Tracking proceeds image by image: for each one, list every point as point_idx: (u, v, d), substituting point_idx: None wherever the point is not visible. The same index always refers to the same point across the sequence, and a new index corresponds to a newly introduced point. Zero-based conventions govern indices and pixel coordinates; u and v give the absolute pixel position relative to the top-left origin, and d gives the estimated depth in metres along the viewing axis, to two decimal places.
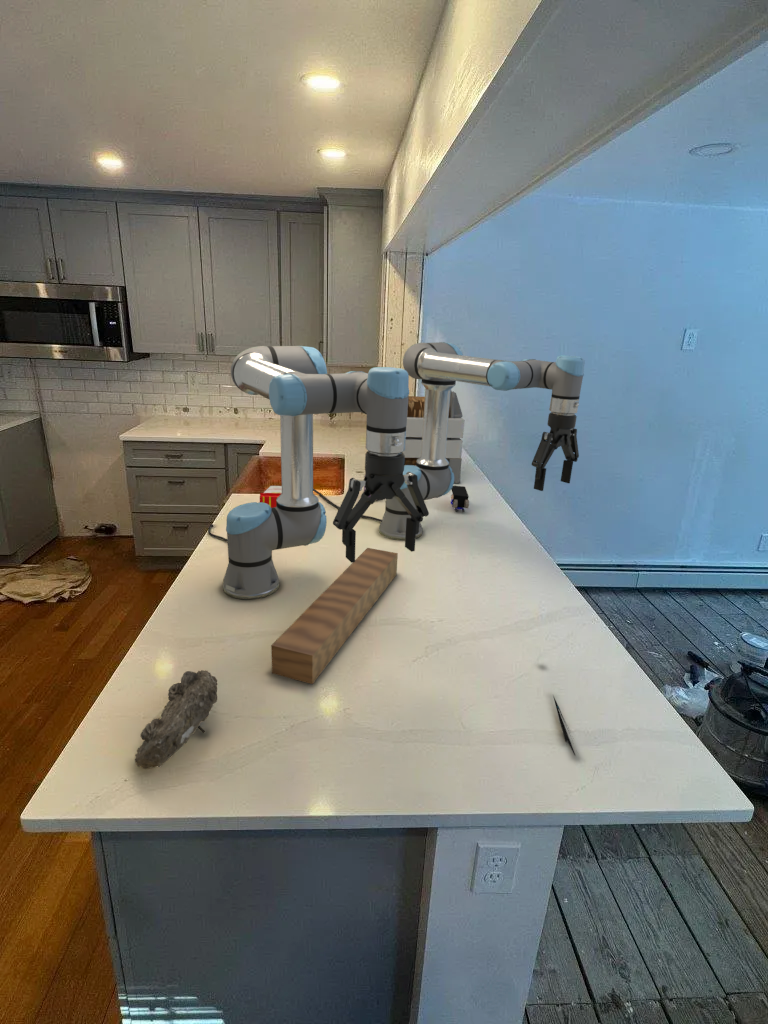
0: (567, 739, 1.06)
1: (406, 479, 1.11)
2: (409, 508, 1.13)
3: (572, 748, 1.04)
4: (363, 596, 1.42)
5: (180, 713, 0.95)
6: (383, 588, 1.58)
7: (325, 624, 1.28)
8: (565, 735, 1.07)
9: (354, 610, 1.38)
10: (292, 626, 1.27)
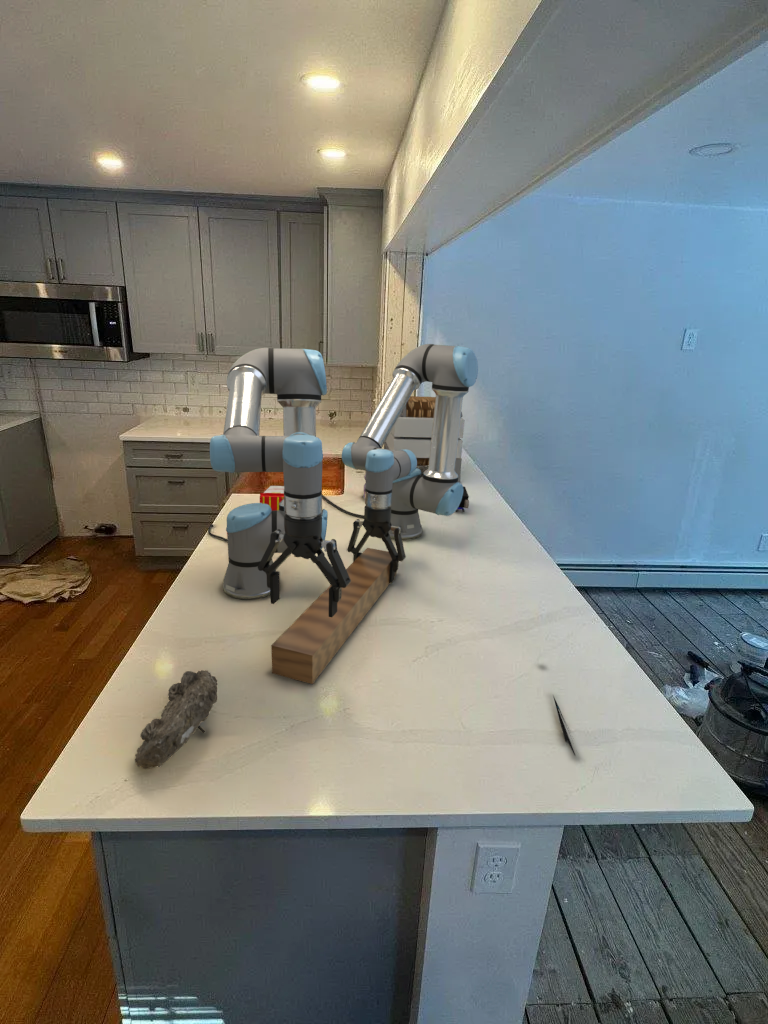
0: (567, 739, 1.06)
1: (323, 545, 1.13)
2: (324, 574, 1.14)
3: (572, 748, 1.04)
4: (363, 596, 1.42)
5: (180, 713, 0.95)
6: (383, 588, 1.58)
7: (325, 624, 1.28)
8: (565, 735, 1.07)
9: (354, 610, 1.38)
10: (292, 626, 1.27)
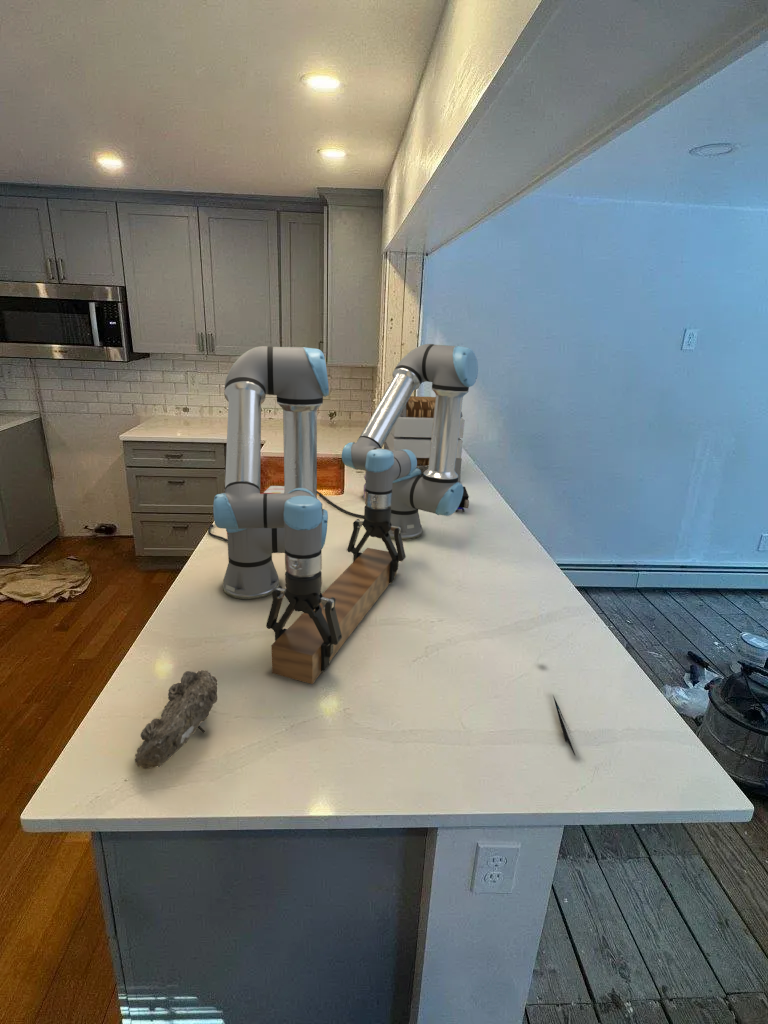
0: (567, 739, 1.06)
1: (323, 602, 1.18)
2: (319, 630, 1.19)
3: (572, 748, 1.04)
4: (363, 596, 1.42)
5: (180, 713, 0.95)
6: (383, 588, 1.58)
7: None
8: (565, 735, 1.07)
9: (354, 610, 1.38)
10: (292, 626, 1.27)
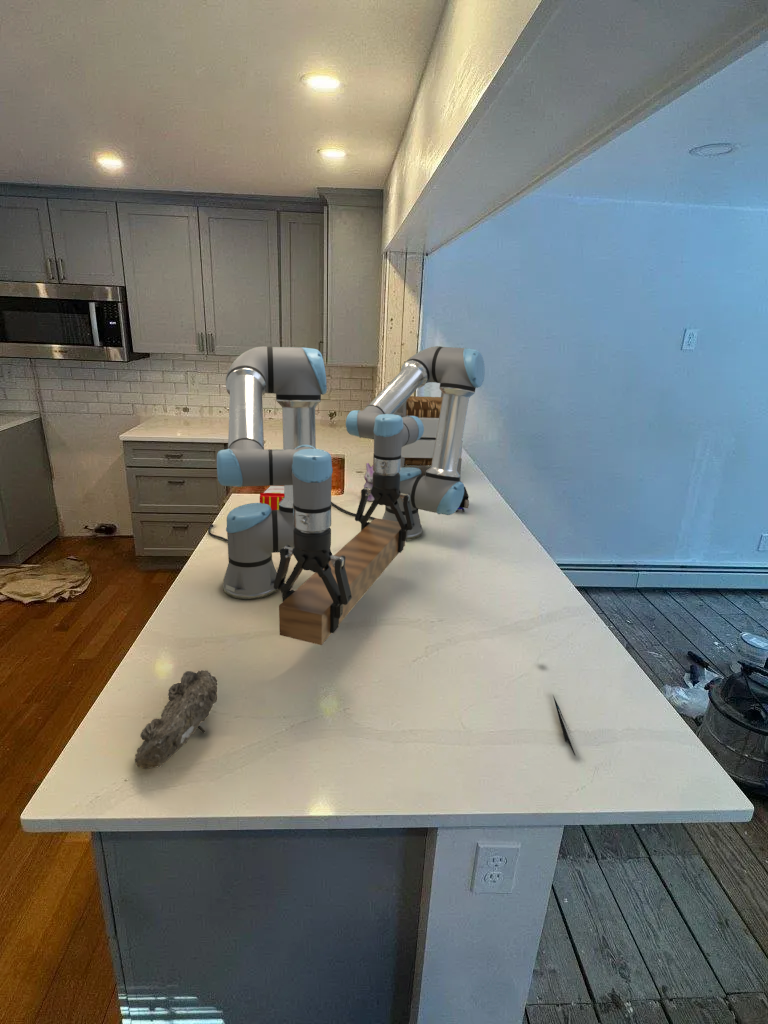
0: (567, 739, 1.06)
1: (332, 560, 1.14)
2: (328, 589, 1.15)
3: (572, 748, 1.04)
4: (372, 562, 1.38)
5: (180, 713, 0.95)
6: (392, 557, 1.54)
7: None
8: (565, 735, 1.07)
9: (364, 574, 1.34)
10: (300, 588, 1.23)
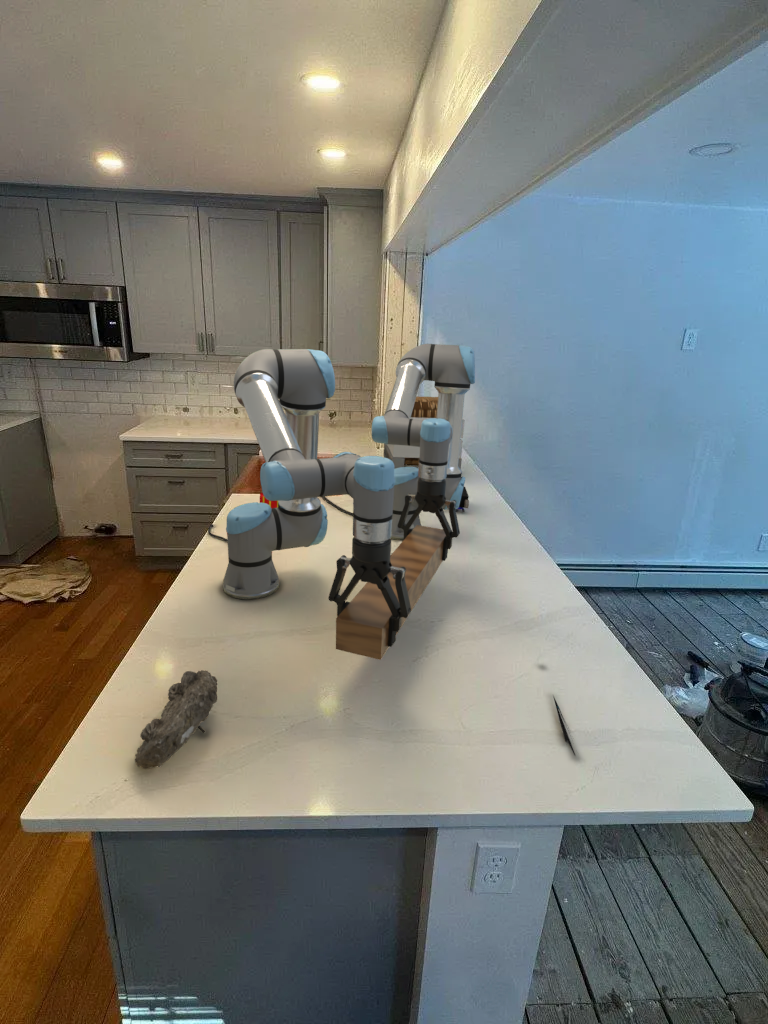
0: (567, 739, 1.06)
1: (392, 571, 1.09)
2: (387, 601, 1.11)
3: (572, 748, 1.04)
4: (422, 571, 1.34)
5: (180, 713, 0.95)
6: (437, 566, 1.50)
7: None
8: (565, 735, 1.07)
9: (415, 585, 1.29)
10: (354, 600, 1.18)
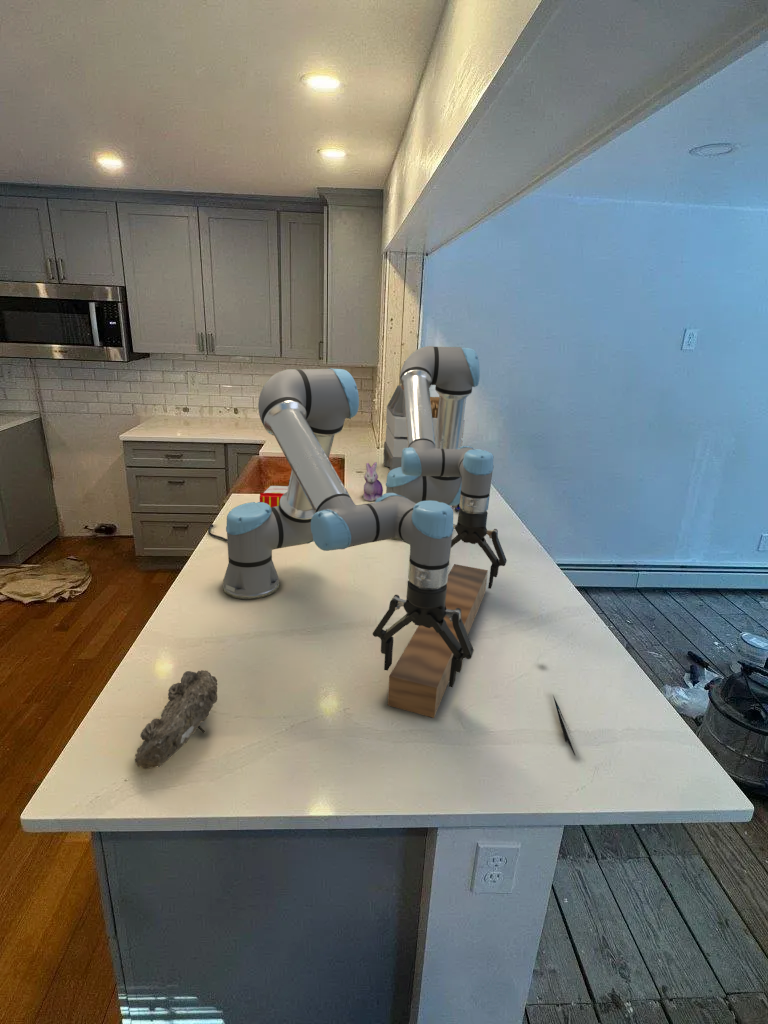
0: (567, 739, 1.06)
1: (448, 615, 1.08)
2: (448, 644, 1.09)
3: (572, 748, 1.04)
4: (467, 619, 1.34)
5: (180, 713, 0.95)
6: (477, 608, 1.50)
7: (438, 651, 1.20)
8: (565, 735, 1.07)
9: None
10: (405, 654, 1.18)
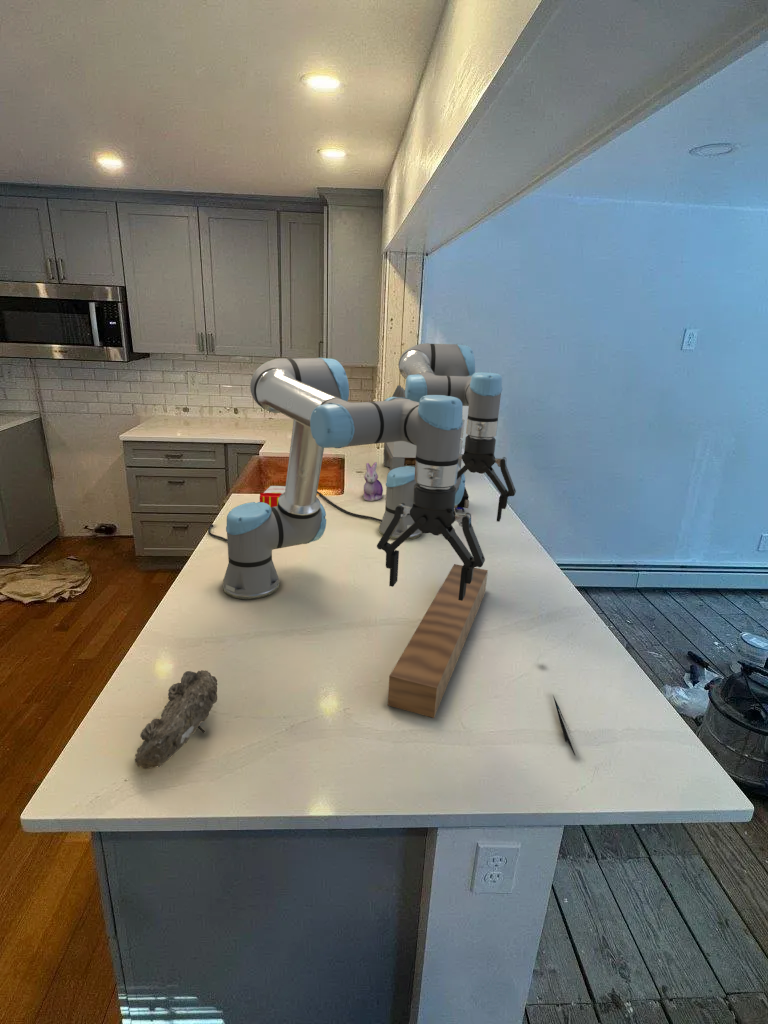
0: (567, 739, 1.06)
1: (458, 519, 1.01)
2: (457, 551, 1.03)
3: (572, 748, 1.04)
4: (467, 619, 1.34)
5: (180, 713, 0.95)
6: (477, 608, 1.50)
7: (438, 651, 1.20)
8: (565, 735, 1.07)
9: (461, 634, 1.29)
10: (405, 654, 1.18)
